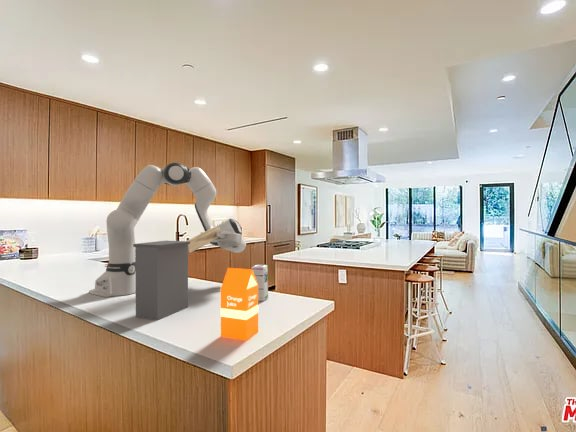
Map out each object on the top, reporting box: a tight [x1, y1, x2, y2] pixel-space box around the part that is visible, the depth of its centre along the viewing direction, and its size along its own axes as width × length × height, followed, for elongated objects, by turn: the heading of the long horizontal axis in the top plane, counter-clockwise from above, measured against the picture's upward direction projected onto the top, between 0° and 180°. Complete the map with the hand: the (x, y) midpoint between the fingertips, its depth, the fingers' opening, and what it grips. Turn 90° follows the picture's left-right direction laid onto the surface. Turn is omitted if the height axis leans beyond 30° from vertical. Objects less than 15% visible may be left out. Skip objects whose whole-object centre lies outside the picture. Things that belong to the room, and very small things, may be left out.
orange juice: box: [220, 267, 259, 342], centre depth 96 cm, size 8×9×20 cm
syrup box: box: [250, 264, 269, 302], centre depth 136 cm, size 6×6×14 cm
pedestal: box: [133, 240, 190, 321], centre depth 118 cm, size 12×16×26 cm
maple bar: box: [186, 228, 221, 255], centre depth 140 cm, size 4×24×4 cm, turn 160°
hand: (211, 233), depth 146 cm, fingers closed on maple bar, 4 cm apart
